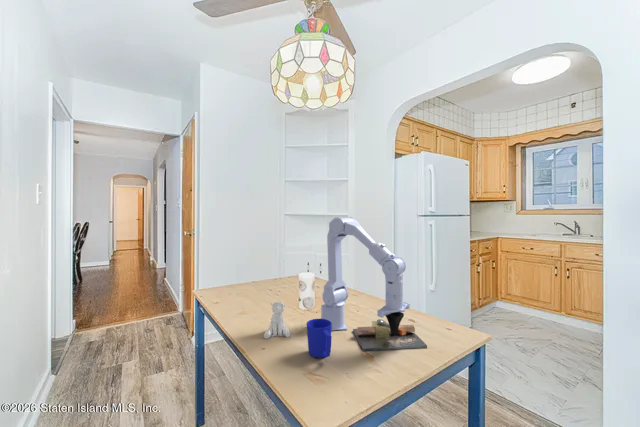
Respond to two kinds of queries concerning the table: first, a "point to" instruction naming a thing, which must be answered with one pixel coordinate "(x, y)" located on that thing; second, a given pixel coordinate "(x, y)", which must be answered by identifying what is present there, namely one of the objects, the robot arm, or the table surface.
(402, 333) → the valve lever
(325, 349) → the mug
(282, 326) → the sitting furry creature
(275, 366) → the table surface
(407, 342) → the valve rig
